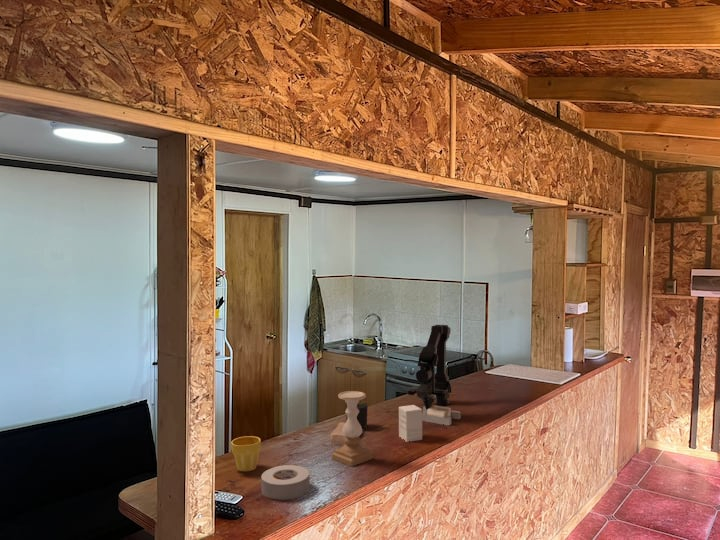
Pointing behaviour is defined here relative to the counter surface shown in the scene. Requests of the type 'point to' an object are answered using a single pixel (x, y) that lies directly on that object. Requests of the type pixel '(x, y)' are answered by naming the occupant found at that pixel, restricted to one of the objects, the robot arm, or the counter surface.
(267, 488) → the tape roll
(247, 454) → the plant pot
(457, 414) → the chute
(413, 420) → the supplement box
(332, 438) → the brick
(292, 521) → the counter surface
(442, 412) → the block
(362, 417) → the pen holder
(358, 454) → the candle holder
